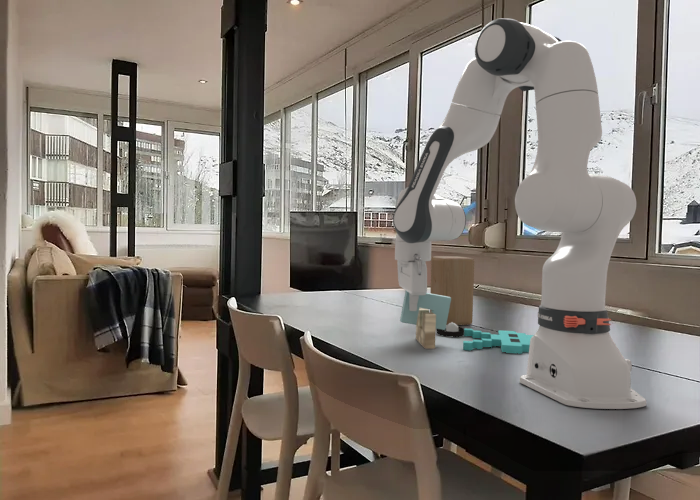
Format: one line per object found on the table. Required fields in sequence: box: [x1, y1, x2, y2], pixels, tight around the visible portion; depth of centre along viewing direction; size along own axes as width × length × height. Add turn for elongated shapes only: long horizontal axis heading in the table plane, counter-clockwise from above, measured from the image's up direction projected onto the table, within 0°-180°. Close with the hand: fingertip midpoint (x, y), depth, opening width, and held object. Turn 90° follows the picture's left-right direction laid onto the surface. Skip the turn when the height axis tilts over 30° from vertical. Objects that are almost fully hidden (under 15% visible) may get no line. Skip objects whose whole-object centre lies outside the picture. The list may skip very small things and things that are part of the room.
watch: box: [436, 322, 464, 338], centre depth 153 cm, size 8×5×4 cm, turn 57°
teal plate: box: [399, 290, 451, 330], centre depth 141 cm, size 2×11×8 cm, turn 94°
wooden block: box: [429, 255, 475, 326], centre depth 173 cm, size 10×10×20 cm
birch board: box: [415, 308, 437, 350], centre depth 141 cm, size 12×2×8 cm, turn 4°
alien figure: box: [462, 327, 535, 355], centre depth 143 cm, size 20×2×20 cm
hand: (411, 309), depth 141 cm, fingers closed on teal plate, 2 cm apart
